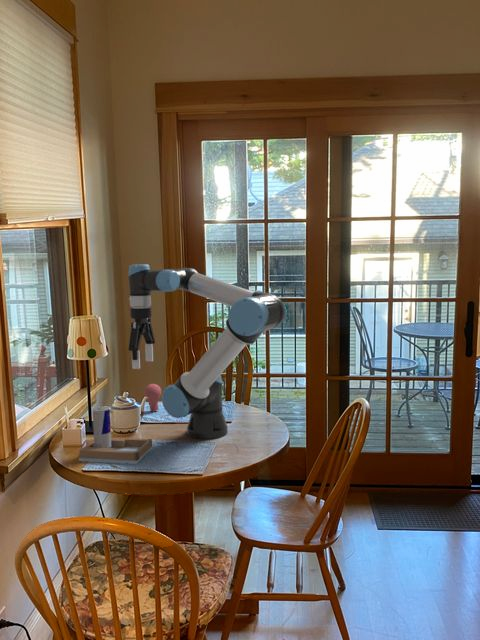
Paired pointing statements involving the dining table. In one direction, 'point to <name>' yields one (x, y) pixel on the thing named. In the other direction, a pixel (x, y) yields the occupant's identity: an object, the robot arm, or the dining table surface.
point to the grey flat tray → (117, 451)
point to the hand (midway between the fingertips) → (143, 364)
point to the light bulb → (153, 396)
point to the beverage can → (102, 427)
